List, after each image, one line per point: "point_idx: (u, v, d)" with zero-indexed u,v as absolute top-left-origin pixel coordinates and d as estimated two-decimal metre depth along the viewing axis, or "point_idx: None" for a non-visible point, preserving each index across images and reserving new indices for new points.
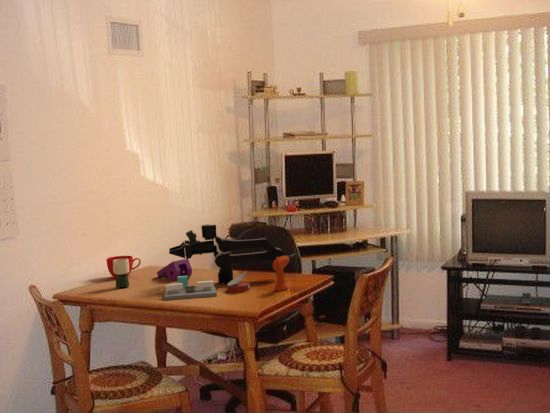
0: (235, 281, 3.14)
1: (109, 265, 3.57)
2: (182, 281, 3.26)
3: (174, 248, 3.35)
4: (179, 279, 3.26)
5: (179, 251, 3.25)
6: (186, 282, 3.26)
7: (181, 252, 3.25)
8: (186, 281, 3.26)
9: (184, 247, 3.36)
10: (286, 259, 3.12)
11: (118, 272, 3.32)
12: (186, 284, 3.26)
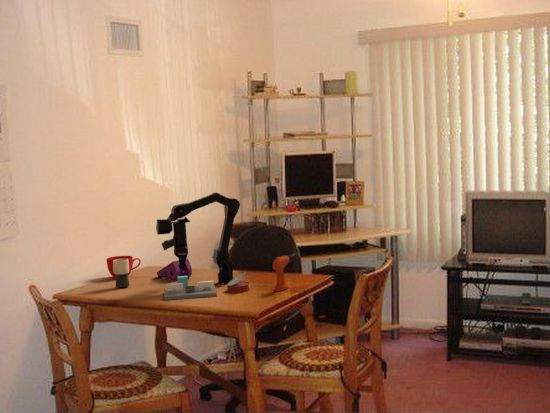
0: (235, 281, 3.13)
1: (109, 265, 3.57)
2: (182, 281, 3.26)
3: None
4: (179, 279, 3.26)
5: (181, 258, 3.21)
6: (186, 282, 3.26)
7: (182, 256, 3.21)
8: (186, 281, 3.26)
9: None
10: (286, 259, 3.12)
11: (118, 272, 3.32)
12: (186, 284, 3.26)
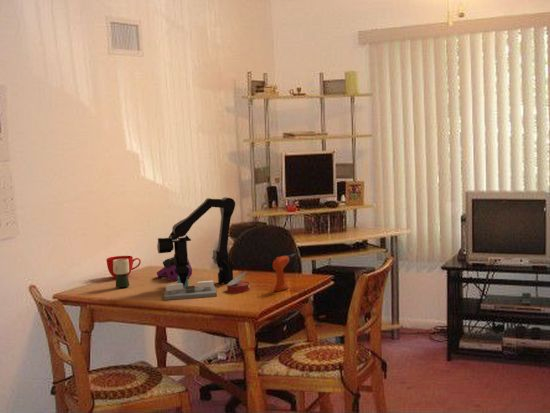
0: (235, 281, 3.14)
1: (109, 265, 3.57)
2: None
3: None
4: (179, 279, 3.26)
5: (182, 276, 3.24)
6: (186, 282, 3.26)
7: (183, 274, 3.24)
8: (186, 281, 3.26)
9: None
10: (286, 259, 3.12)
11: (118, 272, 3.32)
12: (186, 284, 3.26)
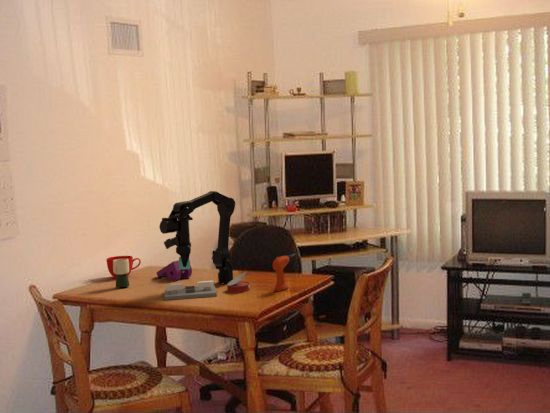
0: (235, 281, 3.14)
1: (109, 265, 3.57)
2: None
3: None
4: (180, 259, 3.16)
5: (183, 256, 3.15)
6: (188, 263, 3.16)
7: (184, 254, 3.15)
8: (188, 262, 3.16)
9: None
10: (286, 259, 3.12)
11: (118, 272, 3.32)
12: (188, 265, 3.16)
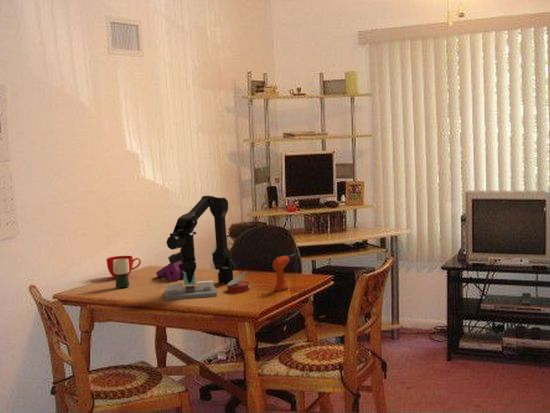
0: (235, 281, 3.14)
1: (109, 265, 3.57)
2: None
3: None
4: (185, 275, 3.09)
5: (188, 272, 3.08)
6: (193, 278, 3.10)
7: (189, 270, 3.08)
8: (193, 277, 3.09)
9: None
10: (286, 259, 3.12)
11: (118, 272, 3.32)
12: (193, 280, 3.10)
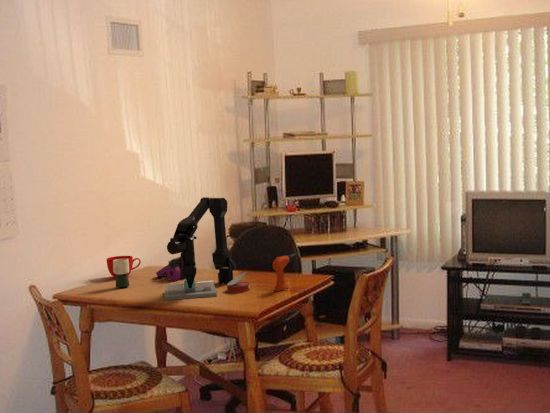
0: (235, 281, 3.14)
1: (109, 265, 3.57)
2: None
3: None
4: (186, 282, 3.09)
5: (189, 277, 3.06)
6: (193, 285, 3.10)
7: (190, 275, 3.06)
8: (193, 284, 3.10)
9: None
10: (286, 259, 3.12)
11: (118, 272, 3.32)
12: (193, 287, 3.10)
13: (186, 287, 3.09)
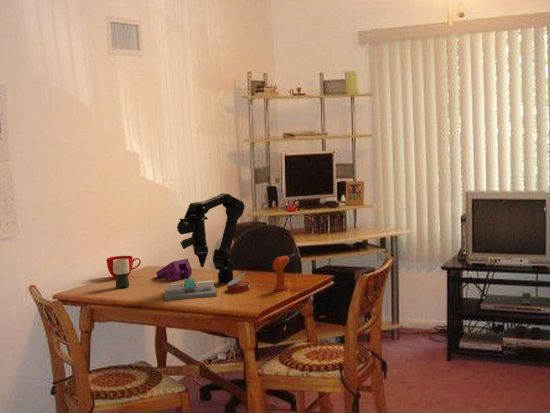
0: (235, 281, 3.14)
1: (109, 265, 3.57)
2: (189, 284, 3.09)
3: None
4: (186, 282, 3.09)
5: (201, 257, 3.16)
6: (193, 285, 3.10)
7: (202, 255, 3.16)
8: (193, 284, 3.10)
9: None
10: (286, 259, 3.12)
11: (118, 272, 3.32)
12: (193, 287, 3.10)
13: (186, 287, 3.09)
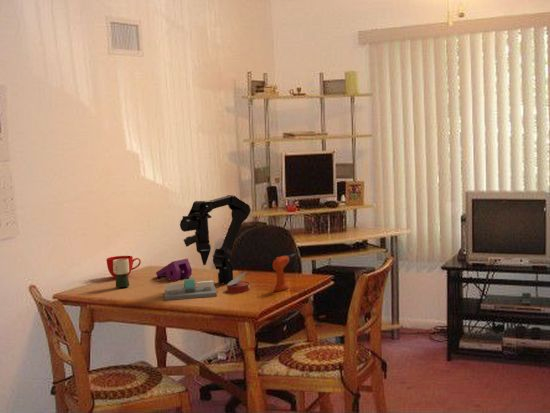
0: (235, 281, 3.14)
1: (109, 265, 3.57)
2: (189, 284, 3.09)
3: None
4: (186, 282, 3.09)
5: (203, 254, 3.18)
6: (193, 285, 3.10)
7: (204, 252, 3.18)
8: (193, 284, 3.10)
9: None
10: (286, 259, 3.12)
11: (118, 272, 3.32)
12: (193, 287, 3.10)
13: (186, 287, 3.09)
